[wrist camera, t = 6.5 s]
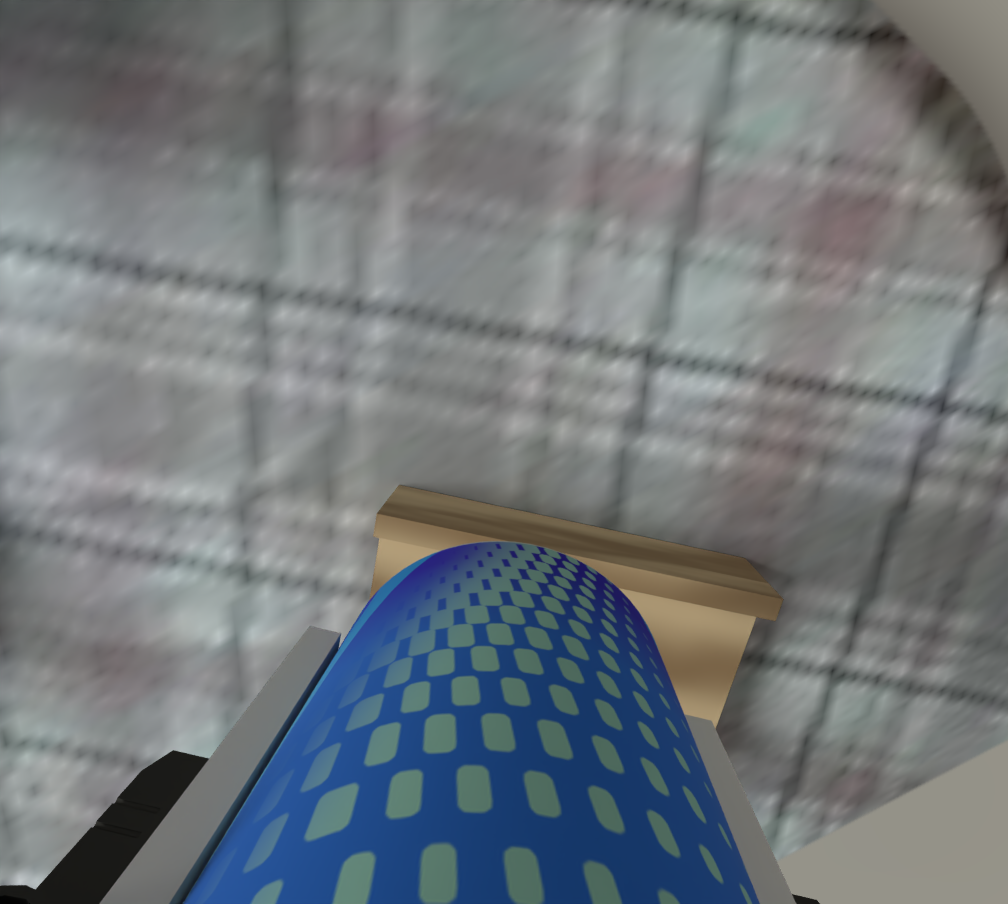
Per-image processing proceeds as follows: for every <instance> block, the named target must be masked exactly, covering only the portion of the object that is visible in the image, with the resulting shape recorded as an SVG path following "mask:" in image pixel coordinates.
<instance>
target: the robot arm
mask: <svg viewBox="0 0 1008 904" xmlns="http://www.w3.org/2000/svg"><path fill="white" fill-rule="evenodd" d="M340 636H341V633H337V632H333V631H329V630H325V629H320V628H316V627H312V626H310V627H309V628H308V629H307V631H306V632H305V633H304V635H303V636H302V637H301V639H300V640H299V641H298V643H297V644H296V645H295V646H294V648H293V649H292V650H291V652H290V653H289V654H288V656H287V657H286V658H285V660H284V661H283V662H282V664H281V665H280V666H279V668H278V669H277V670H276V672H275V673H274V674H273V675H272V677H271V678H270V679H269V681H268V682H267V683H266V685H265V686H264V687H263V689H262V690H261V691H260V693H259V694H258V695H257V697H256V698H255V699H254V701H253V702H252V703H251V704H250V706H249V707H248V708H247V710H246V711H245V712H244V714H243V715H242V716H241V718H240V719H239V720H238V722H237V723H236V724H235V726H234V727H233V728H232V730H231V731H230V732H229V733H228V735H227V736H226V737H225V739H224V740H223V741H222V743H221V744H220V745H219V747H218V748H217V749H216V751H215V752H214V753H213V755H212V756H211V757H210V759H208V758H204V757H199V756H195V755H191V754H187V753H182V752H178V751H174V750H173V751H171V752H170V753H168V754H167V755H165V756H164V757H162V758H161V759H159V760H157V761H156V762H154V763H153V764H151V765H150V766H148V767H147V768H145V769H143V770H142V771H141V772H140V773H139V774H138V775H137V777H136V778H135V779H134V780H133V781H132V782H131V783H130V784H129V785H128V787H127V788H126V789H125V790H124V791H123V792H122V793H121V794H120V796H119V797H118V798H117V800H116V802H115V803H114V804H113V803H112V805H111V806H110V807H109V808H108V809H107V810H106V811H105V812H104V813H103V815H102V816H101V817H100V818H99V819H98V820H97V822H96V824H95V826H94V827H93V828H92V827H91V828H90V829H89V830H88V831H87V833H86V834H85V835H84V836H83V837H82V838H81V839H80V840H79V842H78V843H77V844H76V845H75V846H74V847H73V848H72V849H71V850H70V852H69V853H68V854H67V855H66V856H65V857H64V858H63V859H62V861H61V862H60V863H59V864H58V865H57V866H56V867H55V868H54V870H53V871H52V872H51V873H50V874H49V875H48V876H47V877H46V878H45V880H44V881H43V882H42V883H41V884H40V885H39V886H38V887H37V889H36V890H35V889H33V888H31V887H28V886H26V885H10V886H0V904H183V902H184V901H185V899H186V897H187V896H188V894H189V892H190V891H191V889H192V887H193V886H194V884H195V883H196V881H197V879H198V878H199V876H200V874H201V873H202V871H203V870H204V868H205V866H206V865H207V863H208V861H209V860H210V858H211V856H212V855H213V853H214V852H215V850H216V848H217V847H218V845H219V843H220V842H221V840H222V839H223V837H224V835H225V834H226V832H227V830H228V829H229V827H230V825H231V824H232V822H233V821H234V819H235V817H236V816H237V814H238V812H239V811H240V809H241V808H242V806H243V804H244V803H245V801H246V799H247V798H248V796H249V794H250V793H251V791H252V790H253V788H254V786H255V785H256V783H257V781H258V780H259V778H260V777H261V775H262V773H263V772H264V770H265V768H266V767H267V765H268V763H269V762H270V760H271V759H272V757H273V755H274V754H275V752H276V750H277V749H278V747H279V746H280V744H281V742H282V741H283V739H284V737H285V736H286V734H287V732H288V731H289V729H290V728H291V726H292V724H293V723H294V721H295V719H296V718H297V716H298V715H299V713H300V711H301V710H302V708H303V706H304V705H305V703H306V701H307V700H308V698H309V697H310V695H311V693H312V692H313V690H314V688H315V687H316V685H317V684H318V682H319V680H320V679H321V677H322V675H323V674H324V672H325V670H326V669H327V667H328V666H329V664H330V662H331V661H332V659H333V657H334V656H335V654H336V653H337V651H338V648H339V642H340ZM684 715H685V717H686V720H687V722H688V725H689V727H690V730H691V732H692V735H693V737H694V740H695V742H696V745H697V747H698V750H699V752H700V755H701V757H702V760H703V762H704V765H705V767H706V770H707V772H708V775H709V777H710V780H711V782H712V785H713V787H714V790H715V792H716V795H717V797H718V800H719V802H720V805H721V807H722V810H723V812H724V815H725V817H726V820H727V822H728V825H729V828H730V830H731V833H732V835H733V838H734V840H735V843H736V845H737V848H738V850H739V853H740V855H741V858H742V860H743V863H744V865H745V868H746V870H747V873H748V875H749V878H750V880H751V883H752V885H753V888H754V890H755V893H756V895H757V898H758V900H759V903H760V904H820V903H819V902H818V901H817V900H814V899H810V898H806V897H802V896H797V895H793V894H792V893H791V891H790V889H789V887H788V885H787V883H786V880H785V878H784V876H783V874H782V872H781V870H780V868H779V865H778V863H777V861H776V859H775V857H774V855H773V852H772V850H771V848H770V846H769V844H768V842H767V839H766V837H765V835H764V833H763V831H762V829H761V826H760V824H759V822H758V820H757V818H756V816H755V813H754V811H753V809H752V807H751V805H750V803H749V801H748V798H747V796H746V794H745V792H744V790H743V788H742V785H741V783H740V781H739V779H738V777H737V775H736V772H735V770H734V768H733V766H732V764H731V762H730V759H729V757H728V755H727V753H726V751H725V749H724V746H723V744H722V742H721V740H720V738H719V736H718V734H717V731H716V729H715V727H714V725H713V723H712V721H711V720H707V719H703V718H698V717H694V716H690V715H686V714H684Z"/></svg>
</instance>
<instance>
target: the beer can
mask: <svg viewBox="0 0 1008 904" xmlns="http://www.w3.org/2000/svg"><path fill="white" fill-rule="evenodd" d="M183 904H760V903H759V900H758V898H757V895H756V893H755V890H754V888H753V885H752V883H751V880H750V878H749V875H748V873H747V870H746V868H745V865H744V863H743V860H742V858H741V855H740V853H739V850H738V848H737V845H736V843H735V840H734V838H733V835H732V833H731V830H730V828H729V825H728V822H727V820H726V817H725V815H724V812H723V810H722V807H721V805H720V802H719V800H718V797H717V795H716V792H715V790H714V787H713V785H712V782H711V780H710V777H709V775H708V772H707V770H706V767H705V765H704V762H703V760H702V757H701V755H700V752H699V750H698V747H697V745H696V742H695V740H694V737H693V735H692V732H691V730H690V727H689V725H688V722H687V720H686V717H685V715H684V712H683V710H682V707H681V705H680V702H679V700H678V697H677V695H676V692H675V690H674V687H673V685H672V682H671V680H670V677H669V675H668V672H667V670H666V667H665V665H664V662H663V660H662V657H661V655H660V652H659V650H658V647H657V645H656V642H655V640H654V637H653V635H652V633H651V631H650V629H649V627H648V625H647V624H646V622H645V620H644V619H643V617H642V616H641V614H640V612H639V611H638V610H637V609H636V607H635V606H634V605H633V604H632V602H631V601H630V600H629V599H628V597H627V596H626V595H625V594H624V593H623V592H622V591H621V590H620V589H619V588H618V587H617V586H616V585H614V584H613V583H612V582H611V581H610V580H608V579H607V578H606V577H605V576H603V575H602V574H600V573H599V572H598V571H596V570H595V569H593V568H592V567H590V566H588V565H586V564H585V563H583V562H581V561H579V560H577V559H575V558H573V557H571V556H568V555H566V554H564V553H561V552H558V551H555V550H552V549H549V548H546V547H541V546H537V545H533V544H527V543H520V542H510V541H485V542H475V543H468V544H462V545H458V546H454V547H450V548H446V549H444V550H441V551H438V552H435V553H432V554H430V555H428V556H426V557H423V558H421V559H419V560H417V561H416V562H414V563H412V564H411V565H409V566H407V567H405V568H404V569H403V570H401V571H400V572H399V573H397V574H396V575H394V576H393V577H392V578H391V579H390V580H389V581H387V582H386V583H385V584H384V585H383V586H382V587H381V588H380V589H379V590H378V591H377V592H376V593H375V594H374V596H373V597H372V598H371V599H370V600H369V602H368V603H367V605H366V606H365V607H364V609H363V610H362V612H361V613H360V615H359V617H358V618H357V620H356V622H355V623H354V625H353V626H352V628H351V630H350V631H349V633H348V635H347V636H346V638H345V639H344V641H343V643H342V644H341V646H340V648H339V649H338V651H337V653H336V654H335V656H334V657H333V659H332V661H331V662H330V664H329V666H328V667H327V669H326V670H325V672H324V674H323V675H322V677H321V679H320V680H319V682H318V684H317V685H316V687H315V688H314V690H313V692H312V693H311V695H310V697H309V698H308V700H307V701H306V703H305V705H304V706H303V708H302V710H301V711H300V713H299V715H298V716H297V718H296V719H295V721H294V723H293V724H292V726H291V728H290V729H289V731H288V732H287V734H286V736H285V737H284V739H283V741H282V742H281V744H280V746H279V747H278V749H277V750H276V752H275V754H274V755H273V757H272V759H271V760H270V762H269V763H268V765H267V767H266V768H265V770H264V772H263V773H262V775H261V777H260V778H259V780H258V781H257V783H256V785H255V786H254V788H253V790H252V791H251V793H250V794H249V796H248V798H247V799H246V801H245V803H244V804H243V806H242V808H241V809H240V811H239V812H238V814H237V816H236V817H235V819H234V821H233V822H232V824H231V825H230V827H229V829H228V830H227V832H226V834H225V835H224V837H223V839H222V840H221V842H220V843H219V845H218V847H217V848H216V850H215V852H214V853H213V855H212V856H211V858H210V860H209V861H208V863H207V865H206V866H205V868H204V870H203V871H202V873H201V874H200V876H199V878H198V879H197V881H196V883H195V884H194V886H193V887H192V889H191V891H190V892H189V894H188V896H187V897H186V899H185V901H184V902H183Z"/></svg>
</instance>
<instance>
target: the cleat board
mask: <svg viewBox="0 0 1008 904" xmlns="http://www.w3.org/2000/svg"><path fill="white" fill-rule="evenodd" d="M373 537H378V538H380V539H379V545H378V551H377V557H376V563H375V569H374V575H373V581H372V587H371V594H370V599H371V598H372V597H373V596H374V594H375V593H376V592H377V591H378V590H379V589H380V588H381V587H382V586H383V585H384V584H385V583H386V582H387V581H389V580H390V579H391V578H392V577H393V576H394V575H396V574H397V573H399V572H400V571H401V570H403V569H404V568H405V567H407V566H409V565H411V564H412V563H414V562H416V561H417V560H419V559H421V558H423V557H426V556H428V555H430V554H432V553H435V552H438V551H441V550H444V549H446V548H450V547H454V546H458V545H462V544H468V543H475V542H485V541H510V542H520V543H527V544H533V545H537V546H541V547H546V548H549V549H552V550H555V551H558V552H561V553H564V554H566V555H568V556H571V557H573V558H575V559H577V560H579V561H581V562H583V563H585V564H586V565H588V566H590V567H592V568H593V569H595V570H596V571H598V572H599V573H600V574H602V575H603V576H605V577H606V578H607V579H608V580H610V581H611V582H612V583H613V584H614V585H616V586H617V587H618V588H619V589H620V590H621V591H622V592H623V593H624V594H625V595H626V596H627V597H628V599H629V600H630V601H631V602H632V604H633V605H634V606H635V607H636V609H637V610H638V611H639V612H640V614H641V616H642V617H643V619H644V620H645V622H646V624H647V625H648V627H649V629H650V631H651V633H652V635H653V637H654V640H655V642H656V645H657V647H658V650H659V652H660V655H661V657H662V660H663V662H664V665H665V667H666V670H667V672H668V675H669V677H670V680H671V682H672V685H673V687H674V690H675V692H676V695H677V697H678V700H679V702H680V705H681V707H682V710H683V712H684V714H686V715H690V716H694V717H698V718H703V719H707V720H711V721H712V723H713V725H714V727H715V729H716V726H717V723H718V721H719V718H720V715H721V712H722V710H723V707H724V704H725V702H726V699H727V696H728V693H729V691H730V688H731V685H732V682H733V680H734V677H735V674H736V672H737V669H738V666H739V663H740V661H741V658H742V655H743V652H744V650H745V647H746V644H747V641H748V639H749V636H750V633H751V631H752V628H753V625H754V622H755V620H756V617H758V618H763V619H768V620H773V621H776V618H777V616H778V613H779V610H780V608H781V605H782V602H783V600H784V599H783V598H782V597H781V596H780V595H779V594H778V593H777V592H776V591H775V590H774V589H773V588H772V587H771V585H770V584H769V583H768V582H767V581H766V580H765V579H764V578H763V577H762V576H761V575H760V574H759V573H758V572H757V571H756V570H755V568H754V567H753V566H752V565H751V564H750V563H749V562H748V561H747V560H746V559H745V558H741V557H737V556H732V555H727V554H722V553H718V552H713V551H708V550H704V549H699V548H694V547H689V546H685V545H680V544H675V543H671V542H666V541H661V540H656V539H652V538H647V537H642V536H638V535H633V534H628V533H623V532H619V531H614V530H609V529H604V528H600V527H595V526H590V525H586V524H581V523H576V522H571V521H567V520H562V519H557V518H553V517H548V516H543V515H538V514H534V513H529V512H524V511H520V510H515V509H510V508H505V507H501V506H496V505H491V504H487V503H482V502H477V501H472V500H468V499H463V498H458V497H453V496H449V495H444V494H439V493H435V492H430V491H425V490H420V489H416V488H411V487H406V486H402V485H399V486H398V487H397V488H396V490H395V491H394V492H393V493H392V495H391V496H390V497H389V499H388V500H387V501H386V503H385V504H384V505H383V506H382V508H381V509H380V510H379V512H378V513H377V516H376V523H375V529H374V535H373Z"/></svg>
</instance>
